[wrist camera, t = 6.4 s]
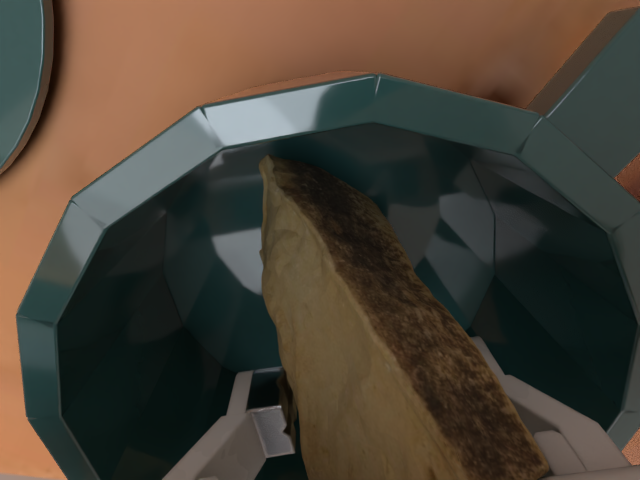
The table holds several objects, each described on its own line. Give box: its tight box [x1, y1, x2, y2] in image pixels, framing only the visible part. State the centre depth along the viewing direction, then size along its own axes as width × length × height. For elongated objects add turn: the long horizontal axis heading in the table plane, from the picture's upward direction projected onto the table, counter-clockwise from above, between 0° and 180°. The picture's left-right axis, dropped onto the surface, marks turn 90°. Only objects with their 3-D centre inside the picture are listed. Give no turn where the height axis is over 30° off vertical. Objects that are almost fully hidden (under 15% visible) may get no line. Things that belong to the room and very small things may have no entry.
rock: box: [259, 154, 549, 480], centre depth 13 cm, size 11×9×10 cm
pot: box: [16, 6, 640, 480], centre depth 14 cm, size 17×22×8 cm
